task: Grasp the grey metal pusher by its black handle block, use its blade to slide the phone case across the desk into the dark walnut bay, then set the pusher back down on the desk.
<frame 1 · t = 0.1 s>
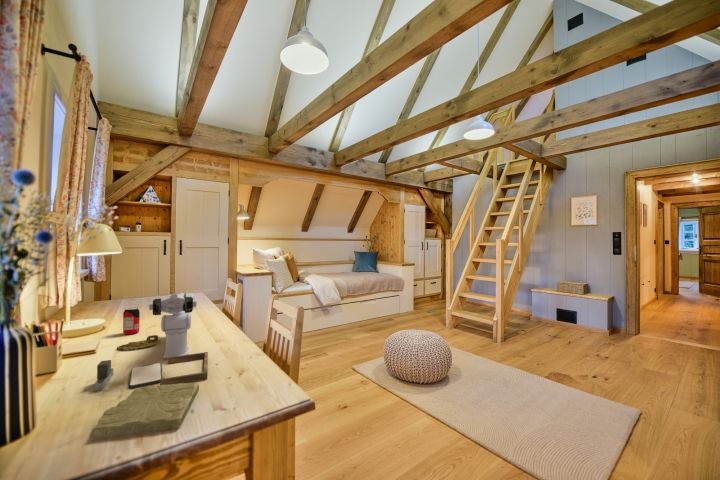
hand: (171, 308, 106), 22 cm above the table, tool horizontal, fingers open, 7 cm apart
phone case: (146, 378, 103), on the table
beverage can: (131, 333, 151), on the table
pusher: (104, 383, 99), on the table
walnut bay: (184, 370, 108), on the table
decorative tile: (151, 414, 82), on the table
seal: (139, 348, 132), on the table
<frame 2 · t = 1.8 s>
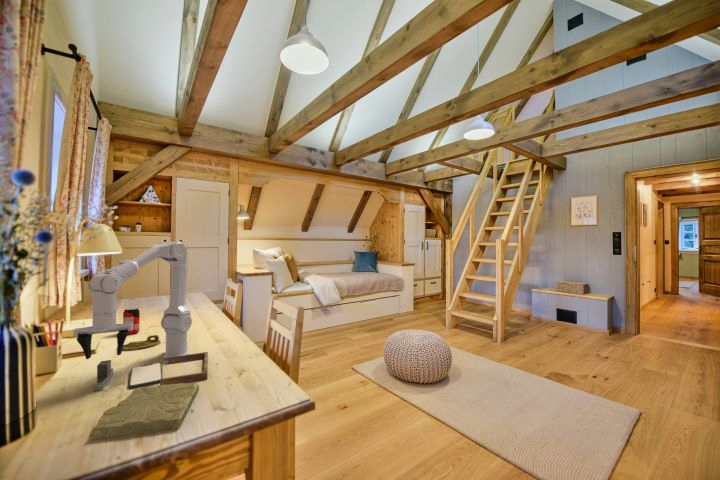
hand: (104, 356, 99), 8 cm above the table, tool pointing down, fingers open, 7 cm apart
nothing on the table moved.
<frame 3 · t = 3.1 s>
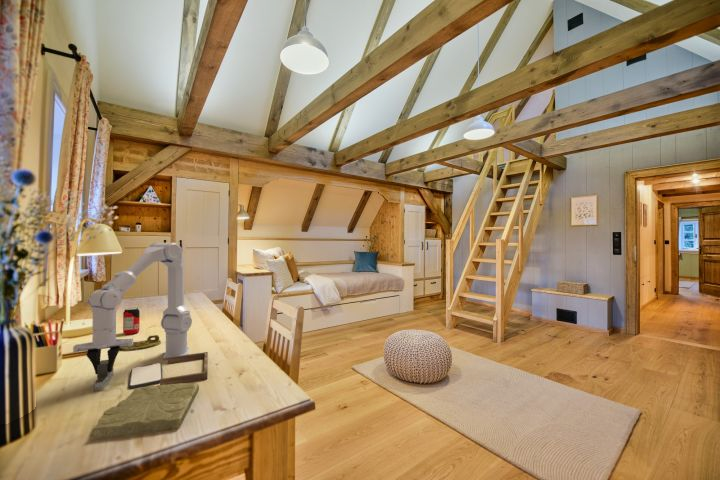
hand: (104, 371, 99), 3 cm above the table, tool pointing down, fingers closed on pusher, 2 cm apart
pusher: (104, 382, 99), on the table, touching gripper
everything else where it was.
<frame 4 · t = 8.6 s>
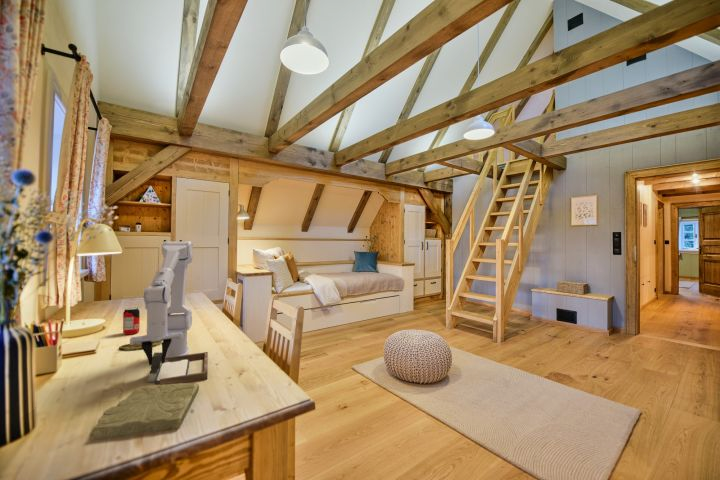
hand: (157, 363, 105), 4 cm above the table, tool pointing down, fingers closed on pusher, 3 cm apart
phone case: (173, 374, 106), on the table, touching pusher
pusher: (154, 374, 105), on the table, tilted 9°, touching gripper, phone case
everything else where it was.
when the fingers open (5 cm above the table, at t = 14.0 s): pusher stays where it is, on the table.
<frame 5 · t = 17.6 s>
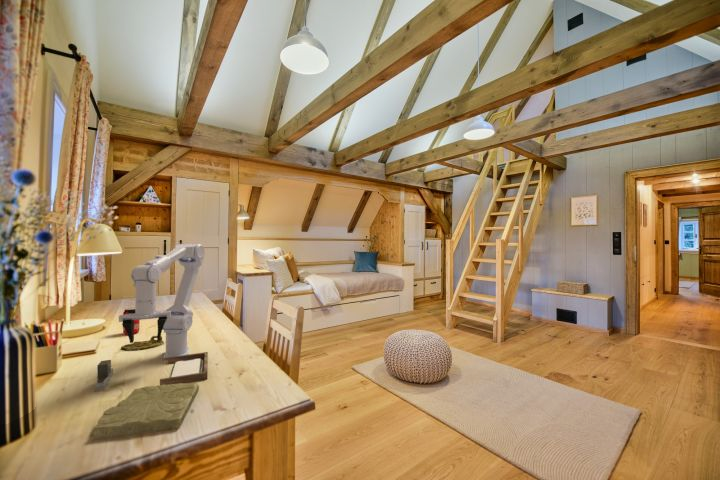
hand: (145, 340, 108), 10 cm above the table, tool pointing down, fingers open, 7 cm apart
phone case: (186, 372, 108), on the table
pusher: (104, 383, 99), on the table
at the end: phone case inside the target area on the walnut bay (1.1 cm from its centre), point -0.7 cm above the walnut bay's base; the gripper is holding nothing; pusher touching table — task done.
